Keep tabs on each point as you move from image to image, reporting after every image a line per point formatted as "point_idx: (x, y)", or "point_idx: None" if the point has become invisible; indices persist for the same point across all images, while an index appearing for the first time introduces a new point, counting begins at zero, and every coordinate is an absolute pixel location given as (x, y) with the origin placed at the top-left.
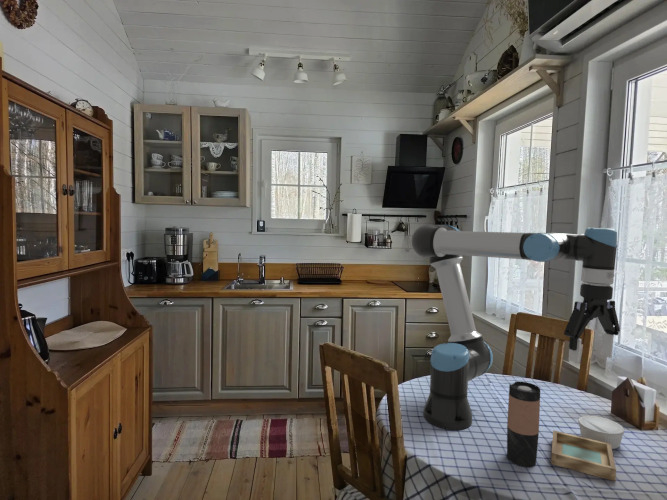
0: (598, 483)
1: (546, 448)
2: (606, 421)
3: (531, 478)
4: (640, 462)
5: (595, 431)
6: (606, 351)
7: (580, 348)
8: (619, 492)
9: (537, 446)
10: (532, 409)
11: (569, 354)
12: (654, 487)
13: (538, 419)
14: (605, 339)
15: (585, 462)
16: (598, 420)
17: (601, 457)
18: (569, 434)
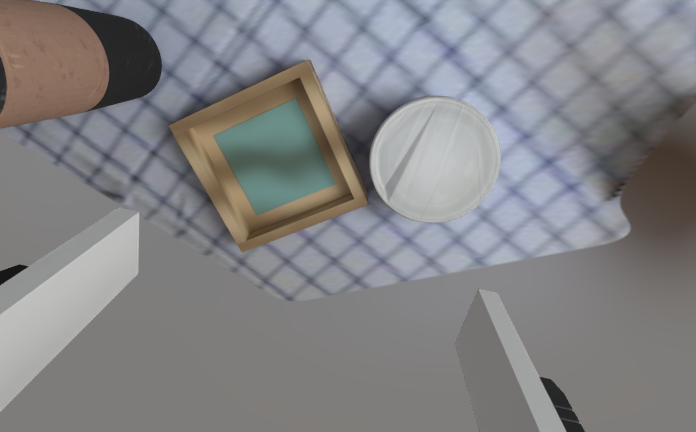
0: (208, 221)
1: (246, 72)
2: (473, 167)
3: (80, 121)
4: (389, 249)
5: (370, 169)
6: (473, 348)
7: (64, 342)
8: (216, 256)
9: (115, 103)
10: None
11: (91, 229)
12: (300, 291)
13: (41, 120)
14: (506, 419)
15: (211, 197)
16: (459, 149)
17: (315, 193)
18: (323, 107)
